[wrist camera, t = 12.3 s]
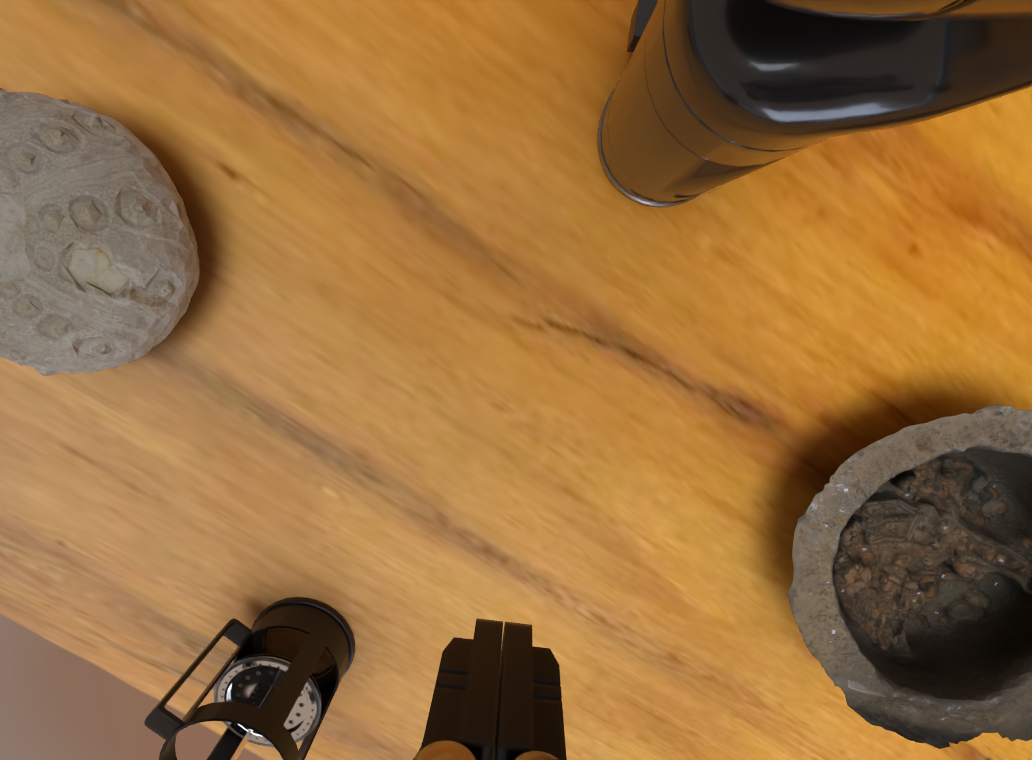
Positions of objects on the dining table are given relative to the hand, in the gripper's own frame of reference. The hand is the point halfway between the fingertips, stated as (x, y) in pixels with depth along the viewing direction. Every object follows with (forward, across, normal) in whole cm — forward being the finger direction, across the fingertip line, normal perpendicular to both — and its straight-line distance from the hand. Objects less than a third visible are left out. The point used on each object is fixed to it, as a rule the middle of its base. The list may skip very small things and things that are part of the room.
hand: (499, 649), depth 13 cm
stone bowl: (+27, -33, +8) cm, 43 cm away
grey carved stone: (+27, +32, -8) cm, 43 cm away
